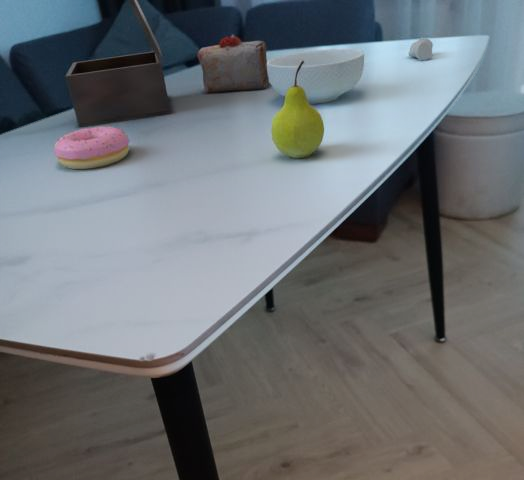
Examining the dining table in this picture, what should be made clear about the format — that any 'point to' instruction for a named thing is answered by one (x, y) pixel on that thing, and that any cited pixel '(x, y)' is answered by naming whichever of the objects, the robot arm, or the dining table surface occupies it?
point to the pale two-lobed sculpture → (421, 49)
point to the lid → (146, 28)
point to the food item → (234, 65)
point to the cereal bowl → (317, 73)
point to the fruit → (297, 124)
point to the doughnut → (92, 147)
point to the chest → (117, 89)
